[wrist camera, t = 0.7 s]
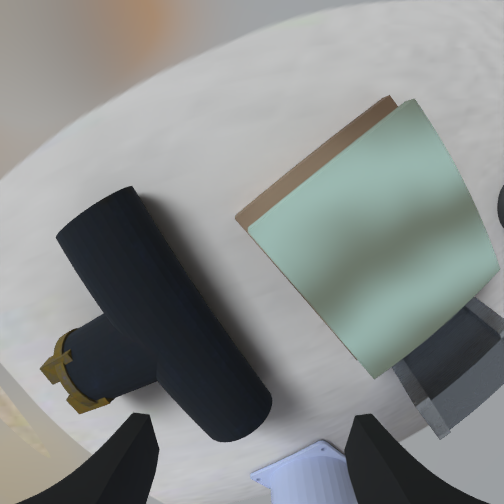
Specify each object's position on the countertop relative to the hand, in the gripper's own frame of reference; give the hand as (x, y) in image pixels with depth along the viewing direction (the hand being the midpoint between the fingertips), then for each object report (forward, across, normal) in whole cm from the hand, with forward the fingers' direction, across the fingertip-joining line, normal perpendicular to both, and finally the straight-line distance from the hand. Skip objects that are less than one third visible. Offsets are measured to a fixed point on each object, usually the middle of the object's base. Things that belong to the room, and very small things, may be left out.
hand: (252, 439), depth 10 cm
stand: (+10, -7, -5) cm, 13 cm away
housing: (+10, -15, +4) cm, 18 cm away
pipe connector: (+10, +7, +1) cm, 13 cm away
